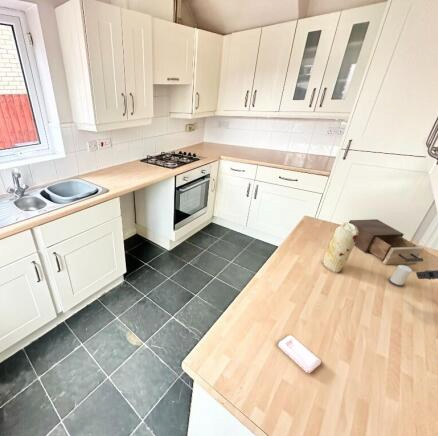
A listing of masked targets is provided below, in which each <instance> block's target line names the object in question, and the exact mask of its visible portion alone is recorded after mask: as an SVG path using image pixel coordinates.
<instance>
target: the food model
mask: <svg viewBox="0 0 438 436" xmlns="http://www.w3.org/2000/svg"><path fill="white" fill-rule="evenodd" d="M358 233H359V232H358V229H357V227H356V226H355V225H353V224H350V223H349V222H343V223H342V224H341V225H339V226H338V227H336V229H335V230H334V233H333V235H332V238H331V240H330V242H329V245H328V247H327V249H326V253H325V255H324V258H323V265H324V266H325V267H326V268H327V269H328V270H330V271H331V272H334V273H336V274H337V273H340V272H341V271H342V269H343V267H344V266H345V265H346V263H347V261H348V259H349V257H350V255H351V253H352V252H353V249H354V246H355V245H354V244H355V242H356V239H357V236H358Z"/></svg>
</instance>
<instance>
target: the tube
mask: <svg viewBox="0 0 438 436" xmlns="http://www.w3.org/2000/svg"><path fill="white" fill-rule="evenodd" d="M412 271H413V270H412V268H410V267H409V266H407V265H404V264H397V267H396V268H395V270H394V272H393V273H392V275H391V277H390V278H389V279H388V282H389V283H390V284H391V285H394V286H397V287H403V286H404V283H405V282H406V281H407V279H408V277H409V276H410V274H411V273H412Z"/></svg>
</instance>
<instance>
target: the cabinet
mask: <svg viewBox="0 0 438 436" xmlns="http://www.w3.org/2000/svg"><path fill="white" fill-rule="evenodd" d="M348 223H350V224H353V225H355V226H356V227H357V229H358V232H359V233H358V236H357V239H356V242H355V244H354V246H355V247H356V248H357V249H359V250H360V251H362V252H363V253H364V254H367V253H369V254H372V253H371V252H370V251H368V248H369V246H370V244H371V242H372V241H373V239H374V236H401V237H402V238H404V235H405V233H403V232H401V231H400V230H398V229H395V228H394V227H392V226H390V225H388V224H387V223H385V222H383V221H381V220H380V219H375V218H373V219H371V218H370V219H350V220H349V221H348Z"/></svg>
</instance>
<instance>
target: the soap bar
mask: <svg viewBox="0 0 438 436" xmlns="http://www.w3.org/2000/svg"><path fill="white" fill-rule="evenodd" d="M278 347H279V349H281V351H283V352H284V353H285V354H286V355H287V356H288V357H290V359H292V361H294V362H295V363H296V364H297V365H298V366H299V367H300V368H301V369H302V370H303V371H304V372H305V373H307V374H311V373H312V372H314V371H315V370H316V369H317V368H318V367H319V366H320V365H321V364H322V360H321V359H320V358H319V357H318V356H316V355H315V354H314V353H313V352H311V350H309V349H308V348H307V347H305V346H304V345H303V344H302V343H301V342H300V341H299V340H297V339H296V338H295V337H294V336H293V335H287V336H286V337H285V338H283V339H282V340H281V341H279V343H278Z"/></svg>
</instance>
